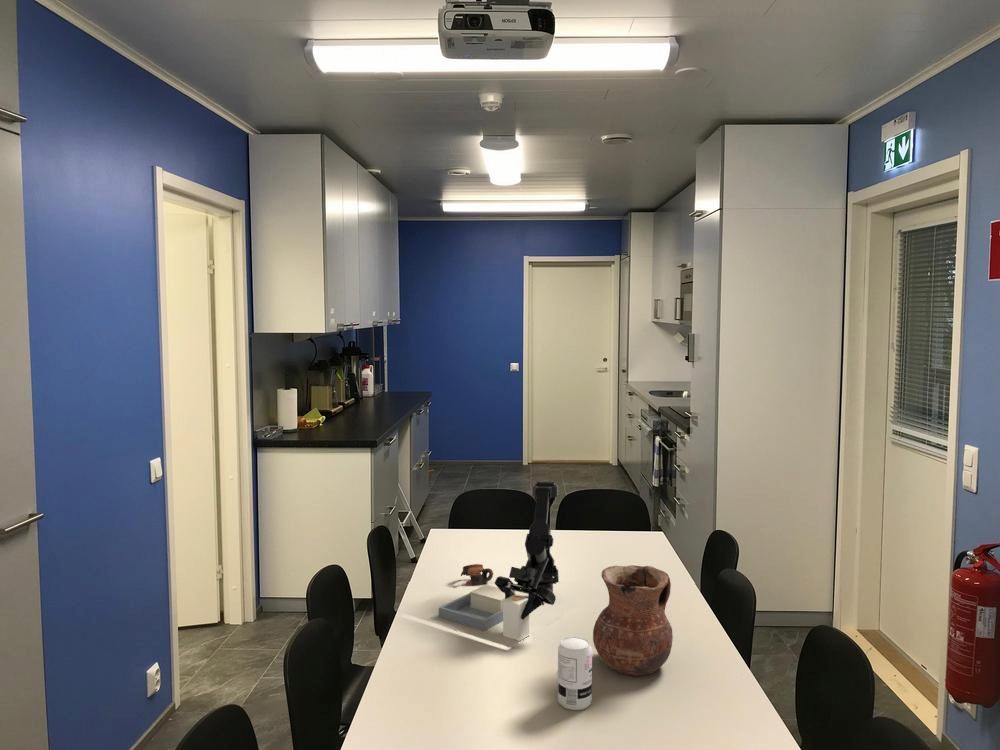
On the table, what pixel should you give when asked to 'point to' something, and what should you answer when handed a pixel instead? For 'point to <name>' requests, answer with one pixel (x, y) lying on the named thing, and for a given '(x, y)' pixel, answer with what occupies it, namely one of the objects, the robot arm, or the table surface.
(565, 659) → the supplement can
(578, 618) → the table surface
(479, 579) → the pottery mug
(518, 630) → the juice carton
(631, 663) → the jug
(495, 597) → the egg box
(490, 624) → the tote
